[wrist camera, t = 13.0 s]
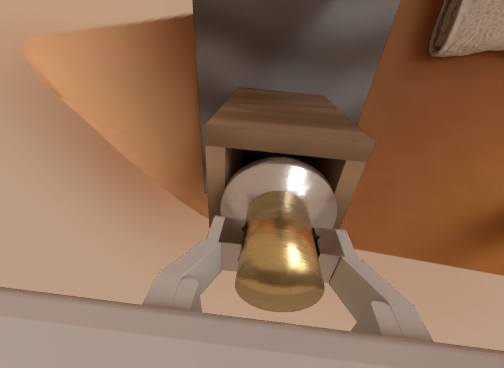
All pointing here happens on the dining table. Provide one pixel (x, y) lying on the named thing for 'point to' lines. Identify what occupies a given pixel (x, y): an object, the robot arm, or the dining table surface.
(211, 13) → the grey holder stand
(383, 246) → the dining table surface
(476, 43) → the washcloth
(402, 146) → the dining table surface
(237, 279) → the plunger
